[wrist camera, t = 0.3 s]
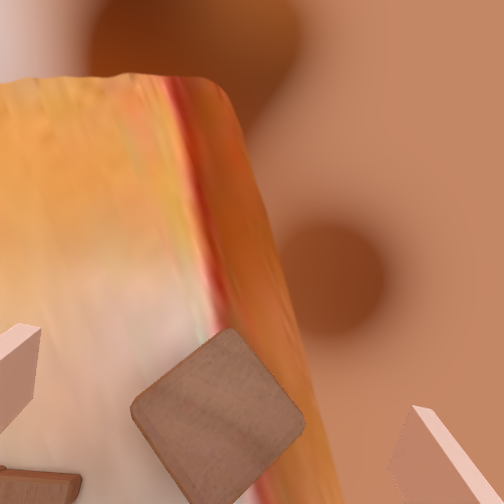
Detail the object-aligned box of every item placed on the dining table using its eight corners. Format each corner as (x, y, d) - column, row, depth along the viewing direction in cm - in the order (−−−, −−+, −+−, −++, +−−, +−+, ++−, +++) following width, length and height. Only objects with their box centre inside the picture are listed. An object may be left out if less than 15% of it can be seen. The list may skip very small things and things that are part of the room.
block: (214, 349, 48) (232, 320, 30) (263, 414, 46) (315, 425, 28) (148, 403, 45) (121, 407, 26) (198, 475, 43) (208, 534, 24)
